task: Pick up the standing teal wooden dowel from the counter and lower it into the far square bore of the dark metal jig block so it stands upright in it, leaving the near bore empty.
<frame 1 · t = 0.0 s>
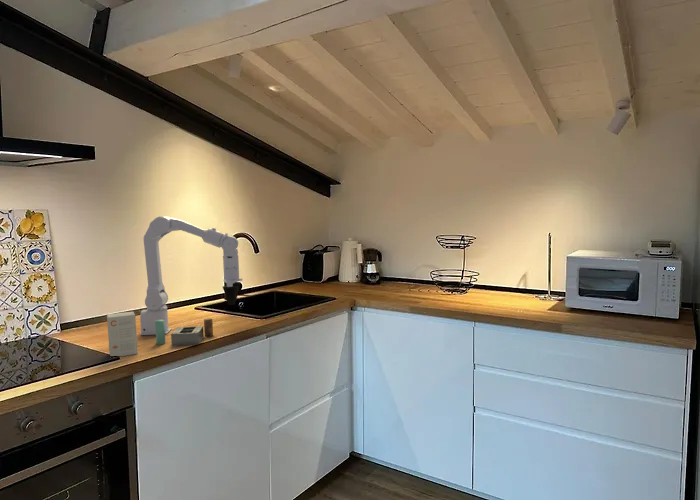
hand: (232, 302, 193), 10 cm above the worktop, tool pointing down, fingers open, 7 cm apart
small box: (123, 354, 162), on the worktop
teal dowel: (160, 343, 174), on the worktop
walnut dowel: (208, 335, 184), on the worktop
bore block: (188, 341, 176), on the worktop
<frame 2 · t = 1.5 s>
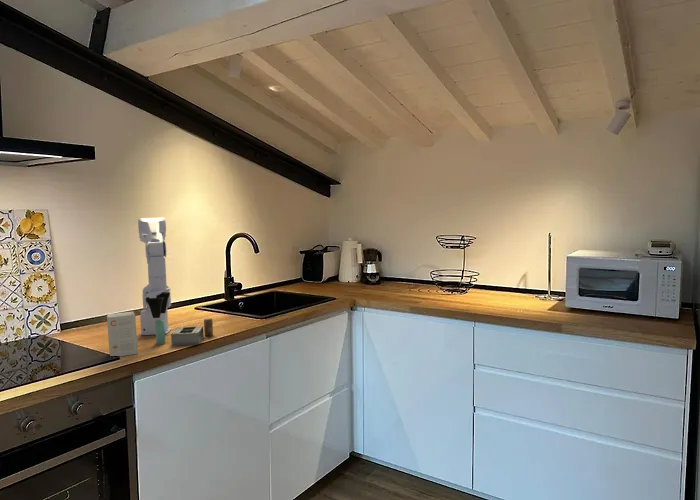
hand: (159, 315, 173), 10 cm above the worktop, tool pointing down, fingers open, 7 cm apart
nothing on the worktop moved.
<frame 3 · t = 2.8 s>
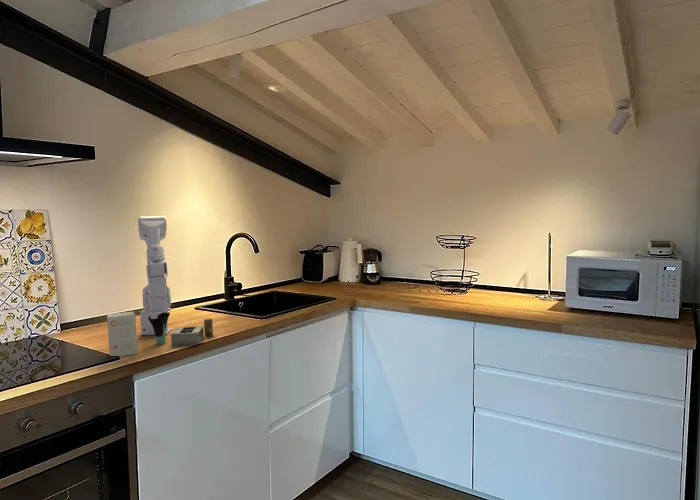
hand: (160, 335, 174), 3 cm above the worktop, tool pointing down, fingers closed on teal dowel, 3 cm apart
teal dowel: (160, 343, 174), on the worktop, touching gripper
everything else where it was.
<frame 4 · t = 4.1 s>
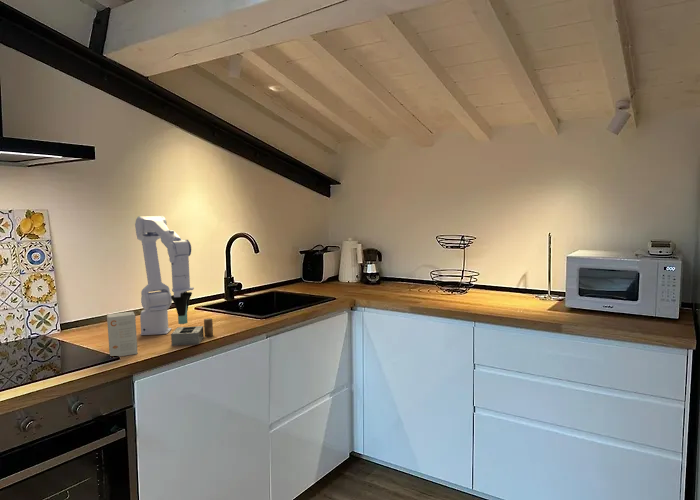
hand: (182, 314, 173), 10 cm above the worktop, tool pointing down, fingers closed on teal dowel, 3 cm apart
teal dowel: (183, 323, 173), point 7 cm above the worktop, touching gripper
everything else where it was.
when the fingers open (5 cm above the worktop, at t = 5.4 s): teal dowel stays where it is, resting on bore block.
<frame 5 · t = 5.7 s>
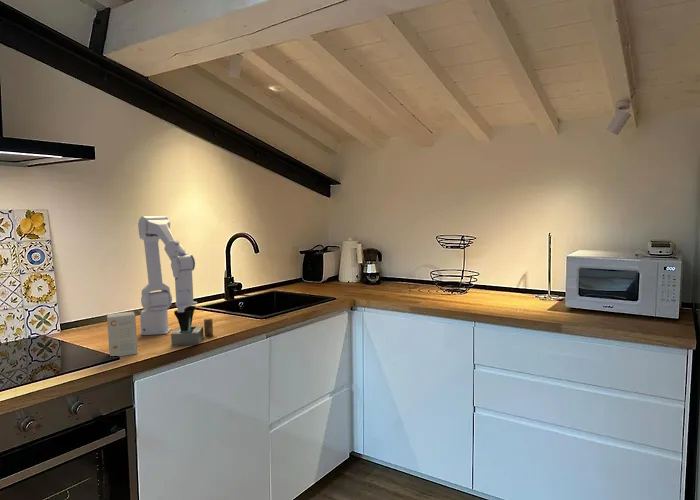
hand: (186, 328, 173), 5 cm above the worktop, tool pointing down, fingers open, 5 cm apart
teal dowel: (186, 340, 174), point 1 cm above the worktop, touching bore block
everything else where it was.
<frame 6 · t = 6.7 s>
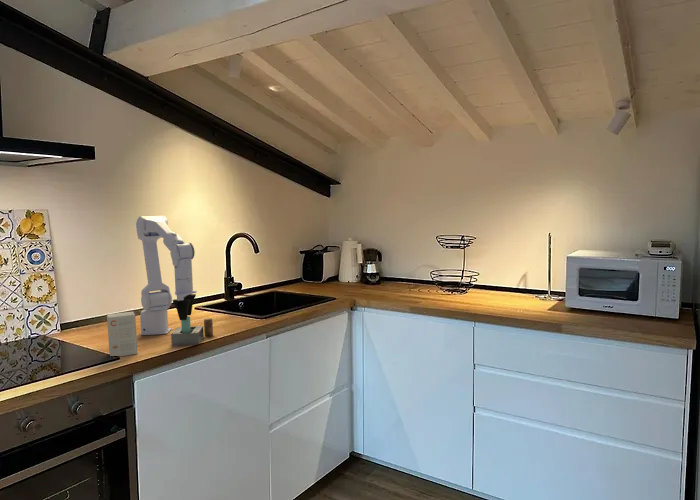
hand: (185, 317, 173), 9 cm above the worktop, tool pointing down, fingers open, 7 cm apart
nothing on the worktop moved.
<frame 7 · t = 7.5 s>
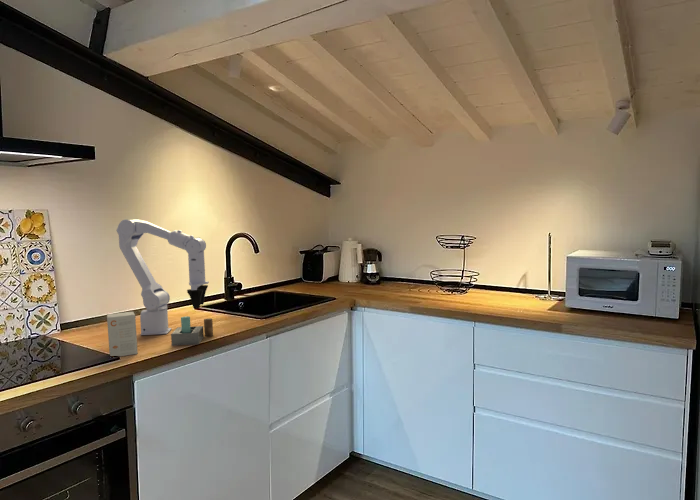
hand: (198, 306, 188), 10 cm above the worktop, tool pointing down, fingers open, 7 cm apart
nothing on the worktop moved.
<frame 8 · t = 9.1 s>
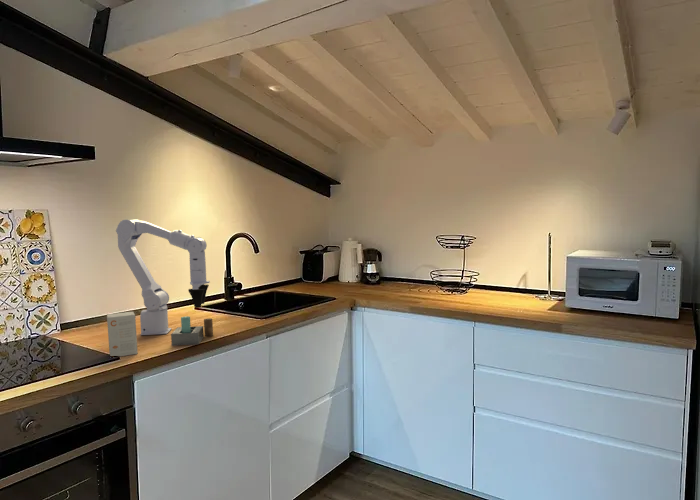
hand: (199, 305, 189), 10 cm above the worktop, tool pointing down, fingers open, 7 cm apart
nothing on the worktop moved.
at the end: teal dowel 0.0 cm from the target spot on the bore block, point 1.0 cm above the bore block's base; teal dowel tilted 0°; the gripper is holding nothing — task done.
